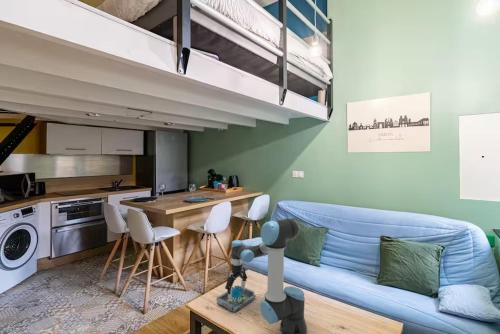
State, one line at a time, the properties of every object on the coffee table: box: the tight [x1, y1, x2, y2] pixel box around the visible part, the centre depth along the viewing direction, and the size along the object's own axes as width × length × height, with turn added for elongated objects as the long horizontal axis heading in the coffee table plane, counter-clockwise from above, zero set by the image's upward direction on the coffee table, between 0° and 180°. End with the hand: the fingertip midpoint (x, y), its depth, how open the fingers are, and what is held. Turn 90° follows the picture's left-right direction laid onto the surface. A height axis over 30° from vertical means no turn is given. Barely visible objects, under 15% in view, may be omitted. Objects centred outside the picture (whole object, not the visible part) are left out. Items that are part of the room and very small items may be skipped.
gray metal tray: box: [216, 284, 257, 314], centre depth 171 cm, size 17×23×4 cm
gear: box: [231, 285, 244, 301], centre depth 172 cm, size 11×6×10 cm
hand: (236, 294), depth 171 cm, fingers open, 13 cm apart
